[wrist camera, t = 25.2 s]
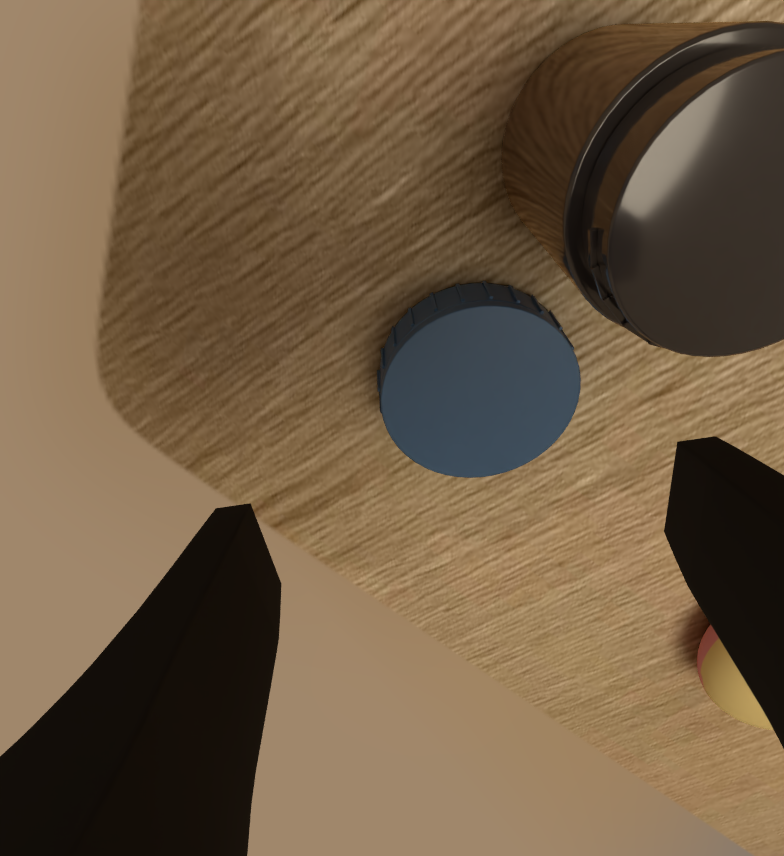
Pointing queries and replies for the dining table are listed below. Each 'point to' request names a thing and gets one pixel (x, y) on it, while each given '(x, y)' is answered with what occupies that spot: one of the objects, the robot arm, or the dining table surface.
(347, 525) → the dining table surface
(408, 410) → the lid
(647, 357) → the dining table surface
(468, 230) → the dining table surface
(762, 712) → the donut
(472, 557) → the dining table surface
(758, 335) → the jar
